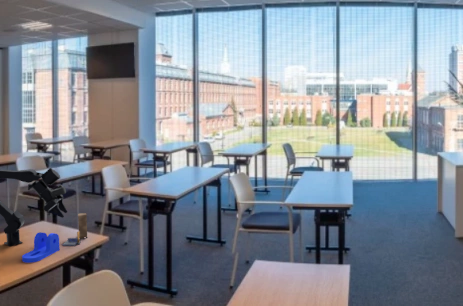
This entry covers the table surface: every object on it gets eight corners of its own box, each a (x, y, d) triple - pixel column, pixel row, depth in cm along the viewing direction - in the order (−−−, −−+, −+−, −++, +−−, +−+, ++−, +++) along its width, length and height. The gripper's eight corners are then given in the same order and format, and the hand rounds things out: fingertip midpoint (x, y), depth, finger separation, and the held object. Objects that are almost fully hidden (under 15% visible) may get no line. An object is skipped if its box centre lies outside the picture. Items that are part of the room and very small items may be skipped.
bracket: (44, 249, 214) (43, 230, 213) (59, 250, 212) (58, 231, 211) (18, 262, 197) (17, 242, 196) (34, 263, 195) (33, 243, 194)
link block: (79, 238, 230) (78, 215, 228) (78, 236, 234) (78, 213, 232) (87, 237, 231) (86, 214, 230) (87, 235, 235) (86, 213, 234)
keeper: (62, 245, 218) (62, 233, 218) (67, 241, 224) (66, 230, 224) (78, 245, 218) (77, 233, 218) (82, 241, 224) (81, 230, 224)
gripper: (52, 184, 213) (75, 209, 216) (60, 177, 231) (80, 200, 234) (33, 199, 212) (56, 223, 215) (42, 191, 230) (63, 214, 233)
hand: (65, 214), depth 224 cm, fingers open, 9 cm apart
